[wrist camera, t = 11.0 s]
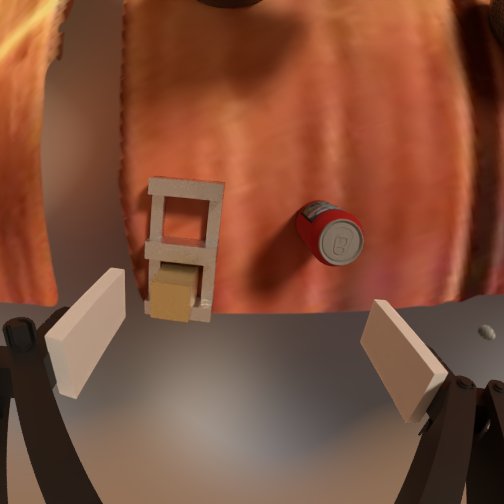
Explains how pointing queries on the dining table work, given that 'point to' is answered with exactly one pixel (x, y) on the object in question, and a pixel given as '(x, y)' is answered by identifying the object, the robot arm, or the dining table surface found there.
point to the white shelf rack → (185, 248)
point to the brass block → (174, 291)
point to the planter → (497, 19)
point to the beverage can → (330, 233)
